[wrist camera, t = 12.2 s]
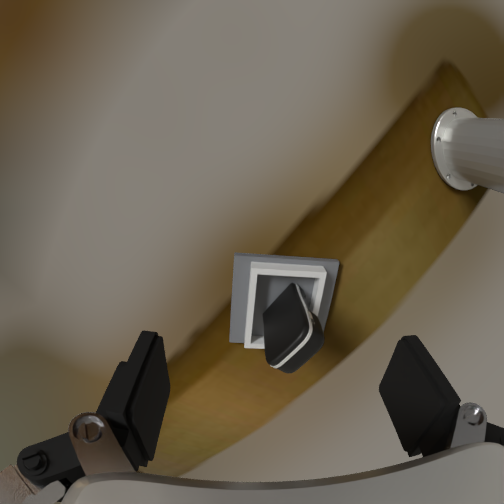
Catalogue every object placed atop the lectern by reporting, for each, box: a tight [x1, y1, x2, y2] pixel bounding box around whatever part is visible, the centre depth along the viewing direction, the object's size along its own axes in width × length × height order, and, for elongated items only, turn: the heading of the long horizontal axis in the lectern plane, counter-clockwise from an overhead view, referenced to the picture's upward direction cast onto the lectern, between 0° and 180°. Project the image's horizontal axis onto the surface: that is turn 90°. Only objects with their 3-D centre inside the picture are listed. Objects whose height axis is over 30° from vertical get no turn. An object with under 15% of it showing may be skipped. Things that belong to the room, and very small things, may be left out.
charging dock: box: [229, 253, 339, 349], centre depth 40 cm, size 14×14×3 cm
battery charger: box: [262, 283, 324, 373], centre depth 35 cm, size 7×4×11 cm, turn 142°
